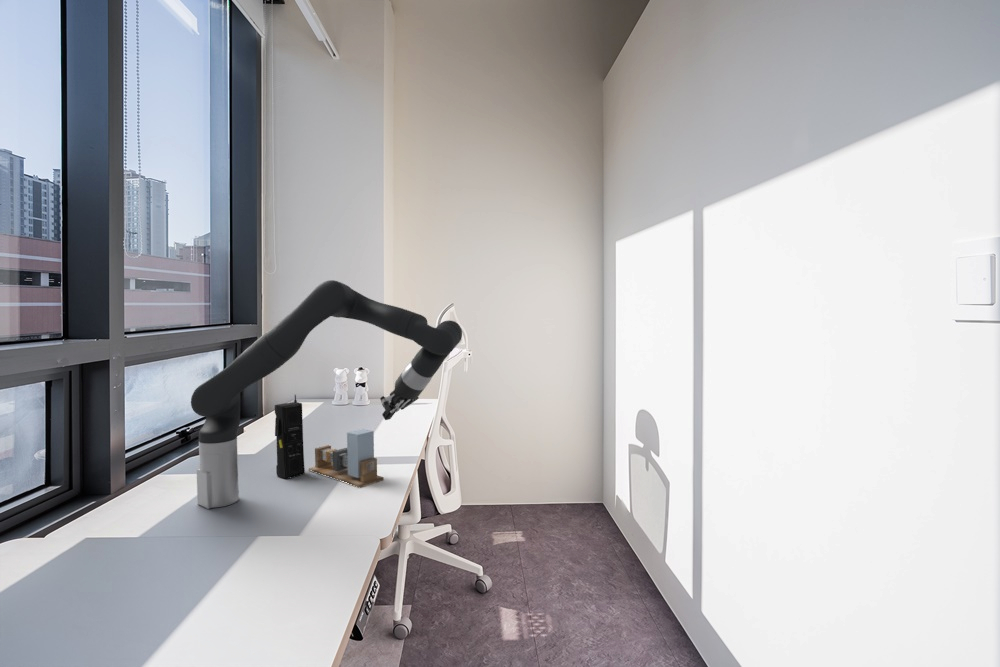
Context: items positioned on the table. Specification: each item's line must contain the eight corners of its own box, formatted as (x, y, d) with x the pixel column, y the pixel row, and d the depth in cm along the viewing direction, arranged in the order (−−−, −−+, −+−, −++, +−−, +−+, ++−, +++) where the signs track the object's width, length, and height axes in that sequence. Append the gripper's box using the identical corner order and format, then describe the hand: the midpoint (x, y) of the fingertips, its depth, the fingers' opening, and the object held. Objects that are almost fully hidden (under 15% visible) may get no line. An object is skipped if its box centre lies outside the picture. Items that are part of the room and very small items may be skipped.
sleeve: (374, 473, 166) (373, 431, 165) (358, 478, 161) (357, 434, 161) (363, 469, 169) (363, 428, 169) (347, 474, 165) (347, 432, 164)
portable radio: (283, 480, 165) (281, 399, 164) (272, 476, 169) (270, 397, 167) (306, 474, 171) (304, 395, 170) (295, 470, 175) (293, 393, 174)
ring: (353, 466, 173) (352, 448, 172) (336, 471, 168) (336, 452, 168) (349, 465, 174) (348, 447, 174) (333, 470, 169) (332, 451, 169)
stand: (383, 479, 166) (383, 457, 166) (359, 487, 159) (358, 464, 158) (332, 464, 182) (332, 443, 182) (308, 470, 175) (308, 449, 175)
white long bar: (374, 471, 164) (374, 460, 164) (365, 473, 161) (365, 462, 161) (326, 456, 179) (326, 446, 179) (317, 459, 177) (317, 448, 176)
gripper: (425, 365, 154) (397, 403, 162) (389, 370, 143) (360, 410, 152) (438, 386, 151) (409, 423, 159) (402, 392, 140) (373, 432, 149)
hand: (385, 417), depth 155 cm, fingers closed
